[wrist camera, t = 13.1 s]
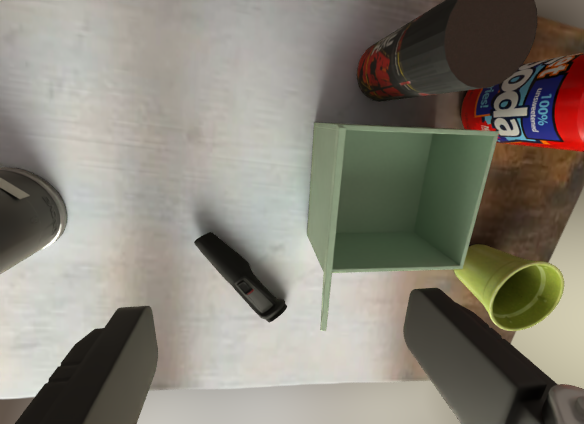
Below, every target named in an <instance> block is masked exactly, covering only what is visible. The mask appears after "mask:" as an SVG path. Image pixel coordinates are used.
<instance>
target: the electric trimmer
mask: <svg viewBox="0 0 584 424" xmlns="http://www.w3.org/2000/svg"><path fill="white" fill-rule="evenodd" d="M194 243H195V245H196V246H197V247H198V248H199V250H200V251H201V252H202V253H203V255H204V256H205V257H206V258H207V259H208V260H209V261H210V262H211V264H212V265H213V266H214V267H215V268H216V269H217V270H218V272H219V273H220V274H221V275H222V276H223V277H224V278H225V279H226V280H227V281H228V282H229V283H230V284H231V285H232V286H233V287H234V289H235V290H236V291H237V292H238V293H239V294H240V295H241V297H242V298H243V299H244V300H245V301H246V302H247V303H248V304H249V306H250V307H251V308H252V309H253V310H254V311H255V312H256V313H257V314H258V315H259V316H260V317H261V318H263V319H266V320H267V321H268V322H271V321H273V320H274V319H276V318H277V317H278V316H280V315H281V314H282V313H283V312H284V311H285V309H286V308H287V305H286V304H285V301H284V300H278V299H277V298H276V297H274V296H273V295H272V294H271V293H270V292H269V291H268V290H267V289H266V288H265V287H264V286H263V285H262V283H261V282H260V281H259V280H258V279H257V278H256V276H255V275H254V274H253V272H252V270H251V268H250V265H249V263H248V262H247V261H246V260H245V259H244V258H243V257H242V256H240V255H239V254H238V253H237V252H235V251H234V250H233V249H232V248H231V247H229V246H228V245H227V244H226V243H225V242H223V241H222V240H221V239H220V238H218V237H217V236H216V235H215V234H213V233H211V232H210V233H207V234H205V235H203V236H201V237H200V238H198V239H197V240H196V241H195V242H194Z"/></svg>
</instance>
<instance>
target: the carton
mask: <svg viewBox="0 0 584 424" xmlns="http://www.w3.org/2000/svg"><path fill="white" fill-rule="evenodd" d="M337 125H342V126H344V127H346V136H345V146H344V156H343V166H342V176H341V186H340V196H339V206H338V216H337V226H336V236H335V246H334V256H333V266H332V273H345V272H379V271H412V270H445V269H463V265H464V262H465V258H466V254H467V251H468V247H469V243H470V239H471V236H472V232H473V228H474V224H475V221H476V217H477V213H478V209H479V206H480V202H481V198H482V194H483V191H484V187H485V183H486V179H487V176H488V172H489V168H490V164H491V160H492V157H493V153H494V149H495V145H496V142H497V138H498V134H499V131H484V130H466V129H449V128H431V127H407V126H384V125H361V124H338V123H314V134H313V149H312V165H311V181H310V196H309V212H308V227H307V236H308V238H309V240H310V243H311V245H312V247H313V249H314V252H315V254H316V256H317V258H318V261H319V263H320V265H321V267H322V270H323V272H324V264H325V253H326V241H327V230H328V219H329V208H330V196H331V185H332V174H333V163H334V151H335V140H336V129H337Z"/></svg>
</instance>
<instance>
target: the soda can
mask: <svg viewBox="0 0 584 424" xmlns="http://www.w3.org/2000/svg"><path fill="white" fill-rule="evenodd" d="M461 119H462V123H463V126H464V128H465V129H466V130H484V131H499V134H498V138H497V142H496V143H504V144H514V145H524V146H533V147H543V148H553V149H562V150H572V151H582V152H584V52H583V53H578V54H573V55H568V56H563V57H558V58H553V59H548V60H543V61H538V62H533V63H528V64H523V65H521V66H520V67H519V68H518V70H517V71H516V72H515V73H514V74H513V75H512V76H511V77H509V78H508V79H506V80H505V81H503V82H502V83H500V84H497V85H495V86H492V87H489V88H481V89H473V90H468V92H467V93H466V95H465V98H464V100H463V104H462V109H461Z"/></svg>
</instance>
